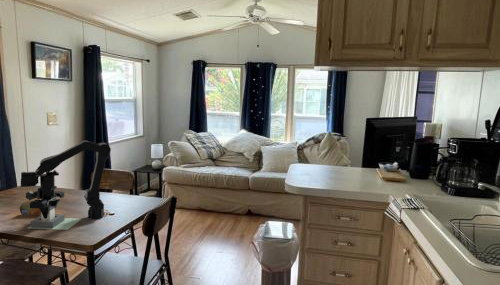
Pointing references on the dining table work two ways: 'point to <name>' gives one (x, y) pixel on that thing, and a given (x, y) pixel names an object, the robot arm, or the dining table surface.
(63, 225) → the circuit board
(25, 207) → the tin
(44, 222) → the grey flat square frame
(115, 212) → the dining table surface
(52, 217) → the plug
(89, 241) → the dining table surface
